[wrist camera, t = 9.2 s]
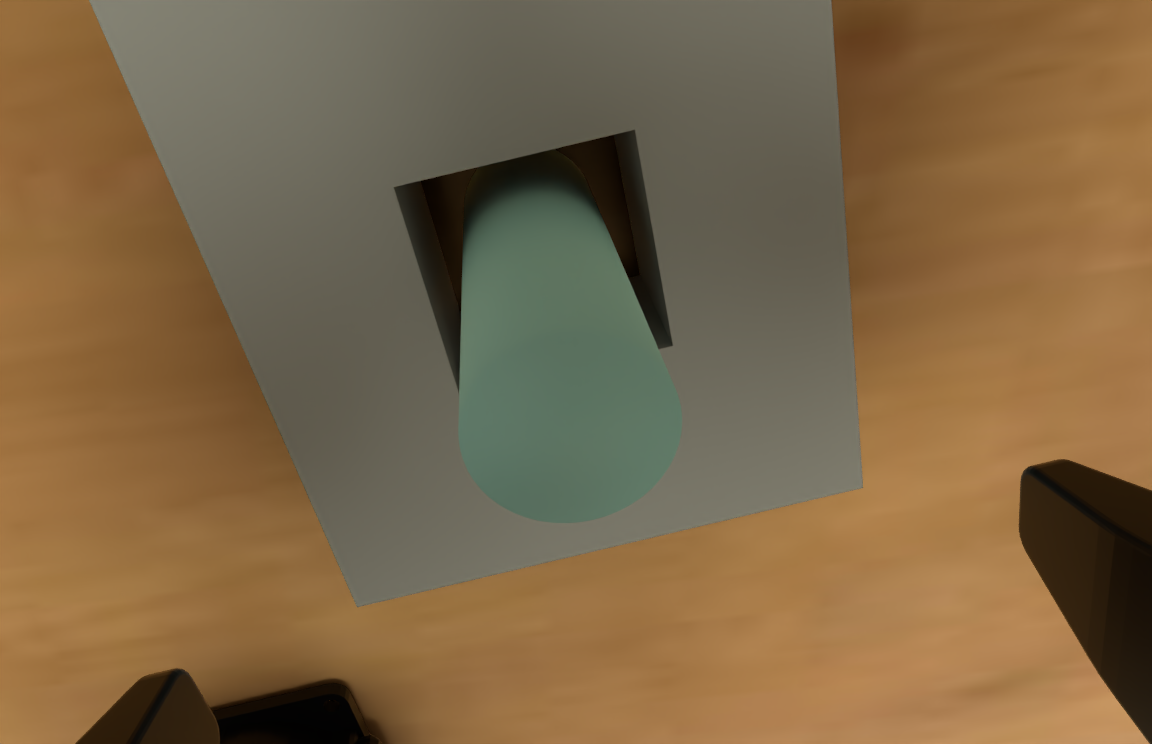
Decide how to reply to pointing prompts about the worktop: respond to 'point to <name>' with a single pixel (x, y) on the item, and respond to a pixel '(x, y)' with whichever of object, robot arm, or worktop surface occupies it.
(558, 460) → the peg
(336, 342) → the hole block
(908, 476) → the worktop surface
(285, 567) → the worktop surface
